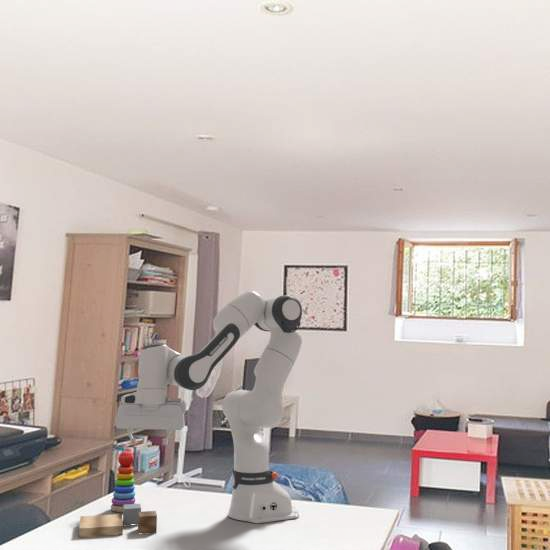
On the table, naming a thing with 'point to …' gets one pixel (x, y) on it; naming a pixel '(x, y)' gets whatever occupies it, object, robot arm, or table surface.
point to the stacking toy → (124, 483)
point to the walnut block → (147, 522)
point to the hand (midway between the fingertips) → (149, 444)
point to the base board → (100, 525)
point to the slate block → (131, 513)
